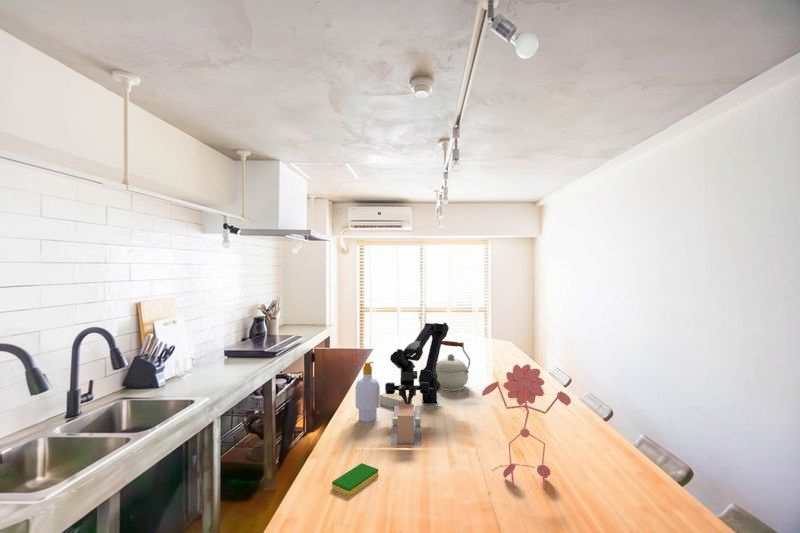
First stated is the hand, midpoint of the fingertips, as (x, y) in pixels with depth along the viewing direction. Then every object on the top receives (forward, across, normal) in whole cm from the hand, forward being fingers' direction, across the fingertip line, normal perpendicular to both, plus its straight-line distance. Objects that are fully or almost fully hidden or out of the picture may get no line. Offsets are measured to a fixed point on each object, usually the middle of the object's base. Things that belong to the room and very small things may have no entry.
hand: (407, 407), depth 165 cm
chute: (+7, 0, +3) cm, 8 cm away
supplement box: (-15, -11, +22) cm, 29 cm away
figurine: (+34, +36, -24) cm, 55 cm away
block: (+13, -1, -4) cm, 14 cm away
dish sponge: (+36, -16, -26) cm, 47 cm away
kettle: (-31, +22, +42) cm, 57 cm away
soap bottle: (+1, -17, +9) cm, 19 cm away
